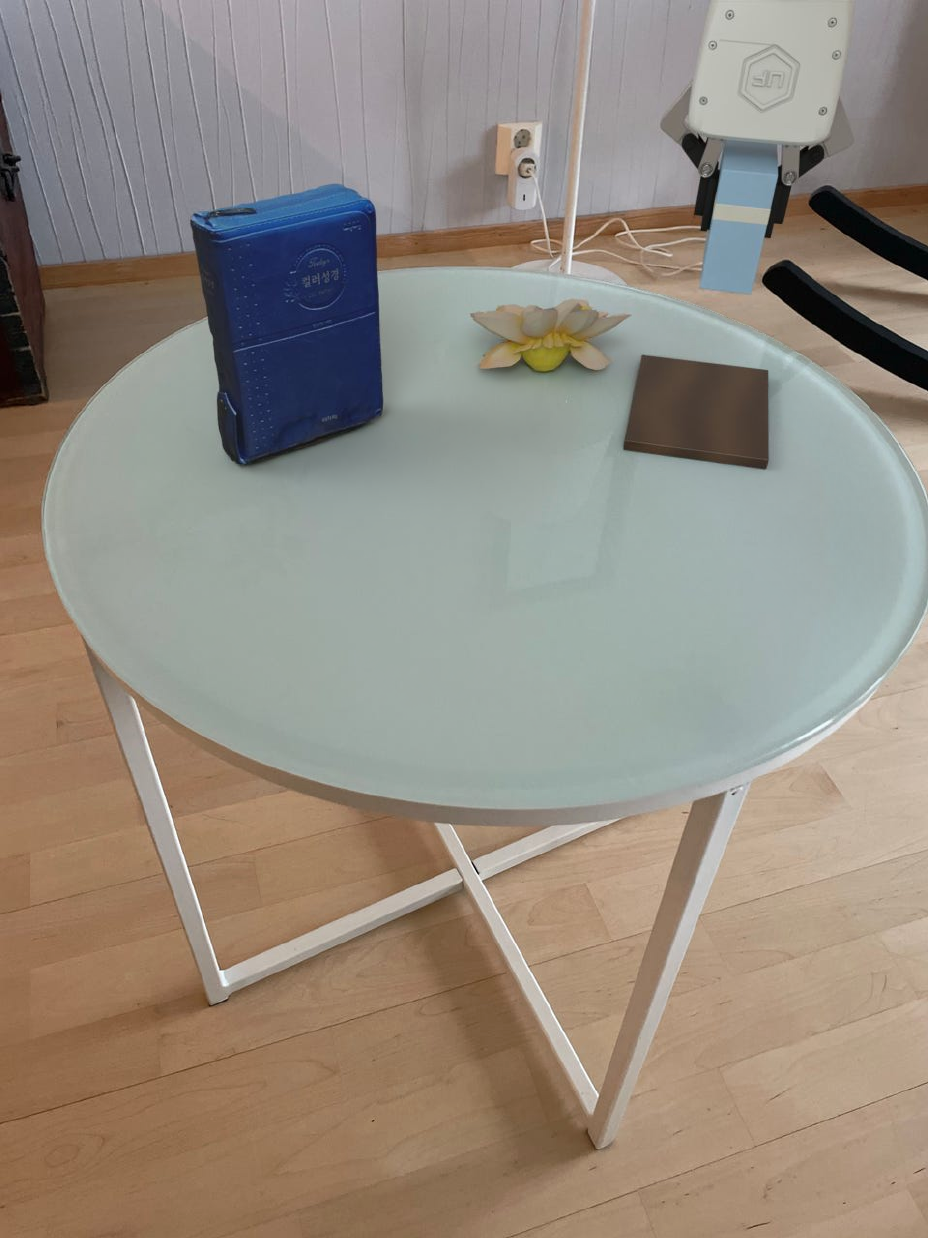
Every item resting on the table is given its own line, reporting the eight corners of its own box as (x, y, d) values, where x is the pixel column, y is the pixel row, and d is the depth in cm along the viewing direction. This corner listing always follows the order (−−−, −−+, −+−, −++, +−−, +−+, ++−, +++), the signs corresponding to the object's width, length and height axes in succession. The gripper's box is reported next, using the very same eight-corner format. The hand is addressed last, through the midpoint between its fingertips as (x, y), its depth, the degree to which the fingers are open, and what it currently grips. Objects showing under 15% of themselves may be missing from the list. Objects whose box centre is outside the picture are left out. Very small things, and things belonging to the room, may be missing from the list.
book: (241, 478, 81) (203, 230, 68) (212, 448, 84) (171, 206, 71) (390, 426, 87) (382, 190, 74) (358, 400, 91) (345, 170, 77)
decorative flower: (618, 312, 101) (626, 224, 93) (632, 390, 95) (642, 303, 86) (470, 321, 101) (465, 234, 93) (474, 398, 95) (469, 313, 87)
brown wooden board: (766, 379, 95) (768, 369, 95) (766, 469, 84) (768, 459, 83) (640, 363, 97) (641, 353, 96) (623, 449, 85) (624, 439, 85)
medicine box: (752, 255, 83) (777, 140, 77) (751, 295, 78) (778, 174, 72) (703, 249, 84) (724, 135, 78) (699, 289, 78) (721, 169, 72)
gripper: (661, -48, 65) (624, 234, 77) (931, -30, 62) (848, 258, 74) (669, -66, 70) (633, 200, 82) (917, -50, 68) (842, 222, 80)
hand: (736, 225), depth 78 cm, fingers closed on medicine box, 4 cm apart
